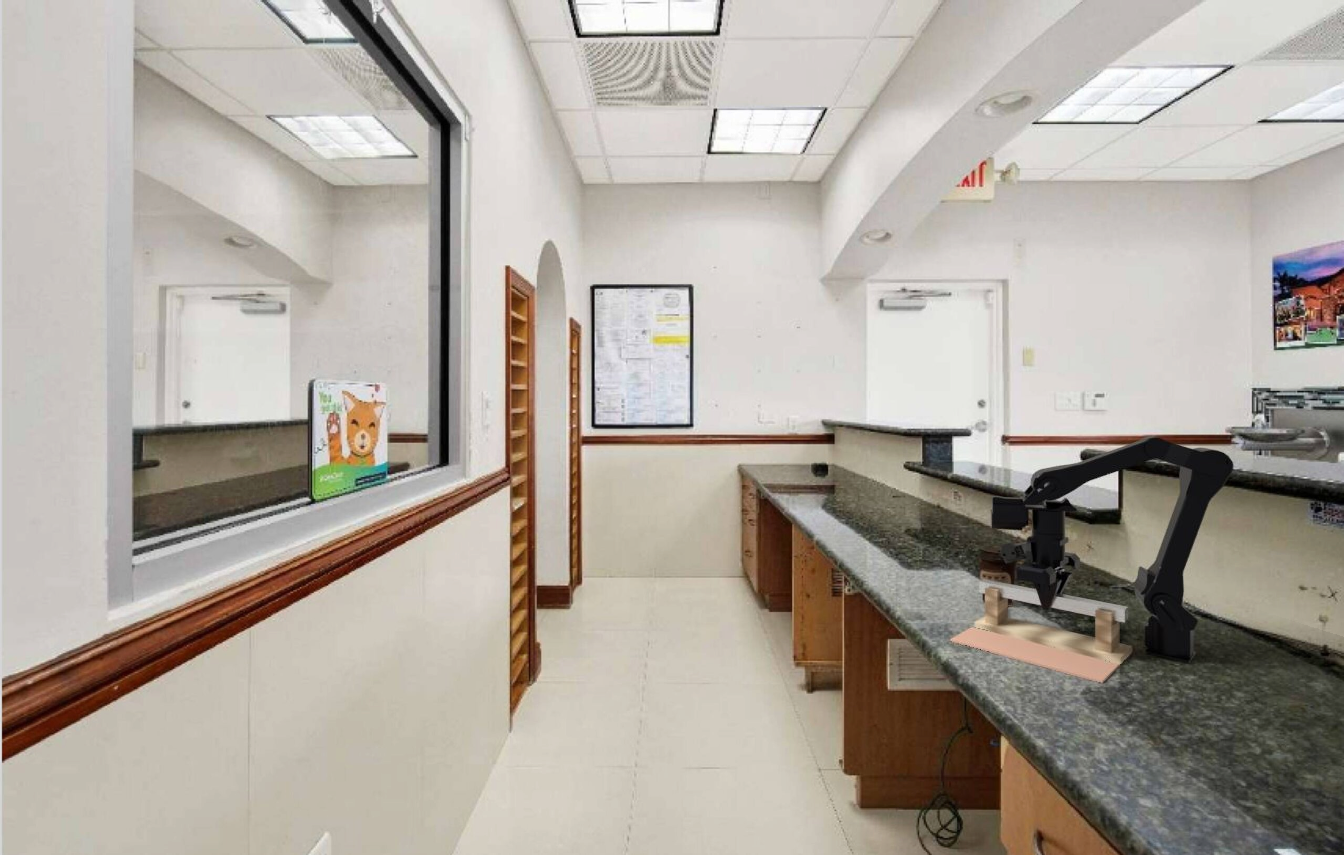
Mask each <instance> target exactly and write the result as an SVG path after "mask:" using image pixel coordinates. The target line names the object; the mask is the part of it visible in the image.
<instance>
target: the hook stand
mask: <svg viewBox="0 0 1344 855" xmlns="http://www.w3.org/2000/svg"><path fill="white" fill-rule="evenodd" d="M1094 617H1095V619H1094V620H1095V621H1094V622H1095V624H1094V627H1095V631H1094V634H1095V636H1091V635H1085V634H1082V633H1077V632H1073V631H1068V630H1064V629H1059V628H1056V627H1051V626H1047V625H1044V624H1043V625H1042V624H1038V623H1033V622H1030V621H1026V620H1025V621H1024V620H1021V619H1016V618H1011V617H1009V606H1008V598H1004V597H999V590H998V589H993V588H988V587H986V588H985V602H984V616H983V617H982V616H981V617H980V618H978V619H977V620H975V621H973V627H976V628H980V629H985V630H988V631H991V632H994V633H998V634H1002V635H1006V636H1010V637H1014V638H1018V639H1022V640H1027V641H1030V642H1034V643H1038V644H1042V645H1046V646H1050V647H1055V648H1058V649H1062V650H1066V651H1069V652H1073V653H1077V654H1081V655H1085V656H1089V657H1093V658H1097V659H1101V660H1106V661H1110V662H1113V663H1117V664H1119V665H1120V664H1121V665H1122V664H1123V663H1124V662H1125V661H1124V660H1127V659H1128V657H1130V656H1131V655H1132V653H1133V645H1129V644H1124V643H1121V642H1120V622H1119V621H1114V620H1113V612H1108V611H1103V610H1098V609H1097V610H1096V611H1095V616H1094ZM1123 661H1124V662H1123Z"/></svg>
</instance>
